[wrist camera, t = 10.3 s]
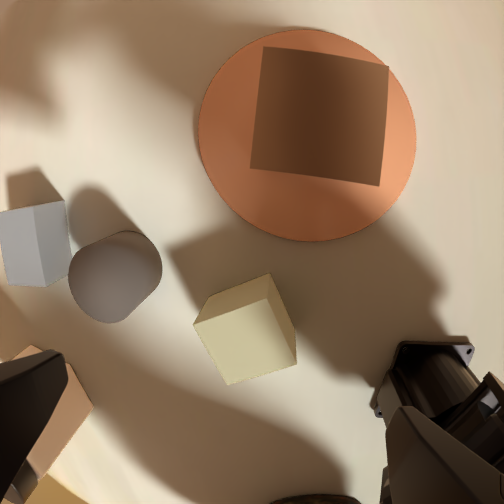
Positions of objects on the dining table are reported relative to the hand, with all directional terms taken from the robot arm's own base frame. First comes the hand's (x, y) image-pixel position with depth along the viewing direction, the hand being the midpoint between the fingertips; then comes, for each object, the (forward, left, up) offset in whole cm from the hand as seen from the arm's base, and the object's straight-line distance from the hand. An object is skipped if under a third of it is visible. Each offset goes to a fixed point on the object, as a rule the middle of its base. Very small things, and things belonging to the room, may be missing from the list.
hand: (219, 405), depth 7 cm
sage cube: (0, +3, -12) cm, 12 cm away
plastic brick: (+15, 0, -12) cm, 19 cm away
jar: (+17, +14, -12) cm, 25 cm away
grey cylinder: (+8, +1, -12) cm, 15 cm away
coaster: (-2, -8, -12) cm, 15 cm away
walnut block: (-2, -8, -11) cm, 14 cm away
